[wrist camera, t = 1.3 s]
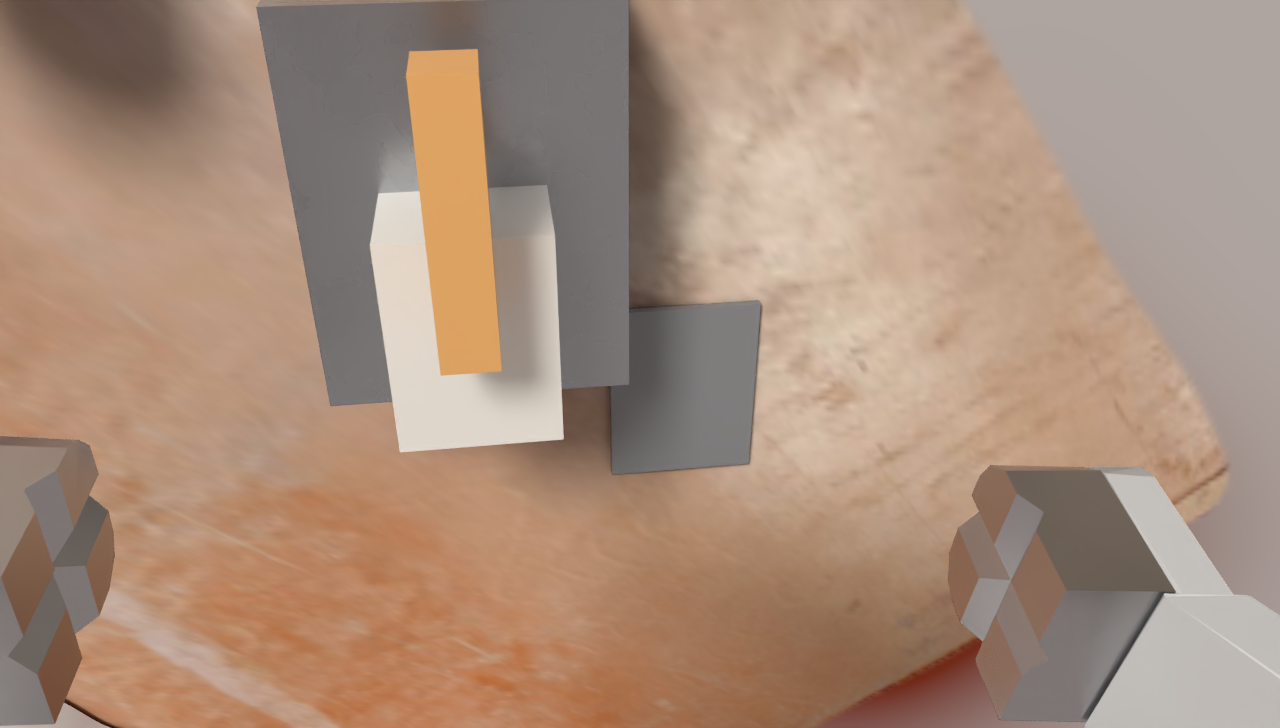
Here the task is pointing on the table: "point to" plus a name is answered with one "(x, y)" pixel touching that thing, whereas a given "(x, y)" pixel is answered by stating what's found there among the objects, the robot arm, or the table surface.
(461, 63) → the t key
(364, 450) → the table surface
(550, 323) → the cream white box
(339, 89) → the box
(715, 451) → the mat
